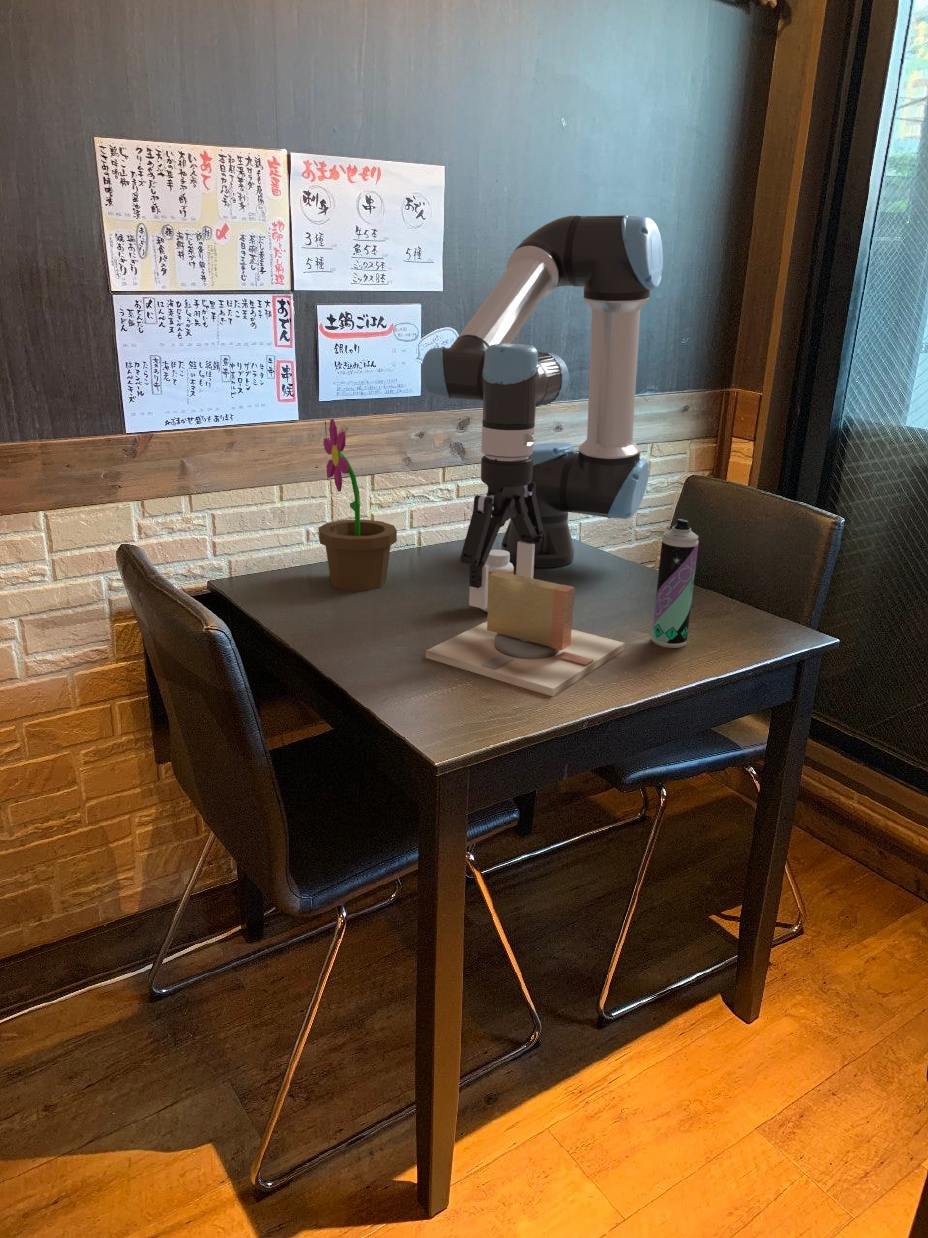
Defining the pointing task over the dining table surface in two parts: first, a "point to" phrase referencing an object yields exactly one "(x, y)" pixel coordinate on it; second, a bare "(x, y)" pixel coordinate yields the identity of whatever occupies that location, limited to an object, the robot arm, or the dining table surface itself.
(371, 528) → the flowerpot
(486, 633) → the board
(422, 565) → the dining table surface
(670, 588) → the spray can
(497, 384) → the robot arm
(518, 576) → the tan rectangular block
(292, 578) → the dining table surface
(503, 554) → the supplement bottle
